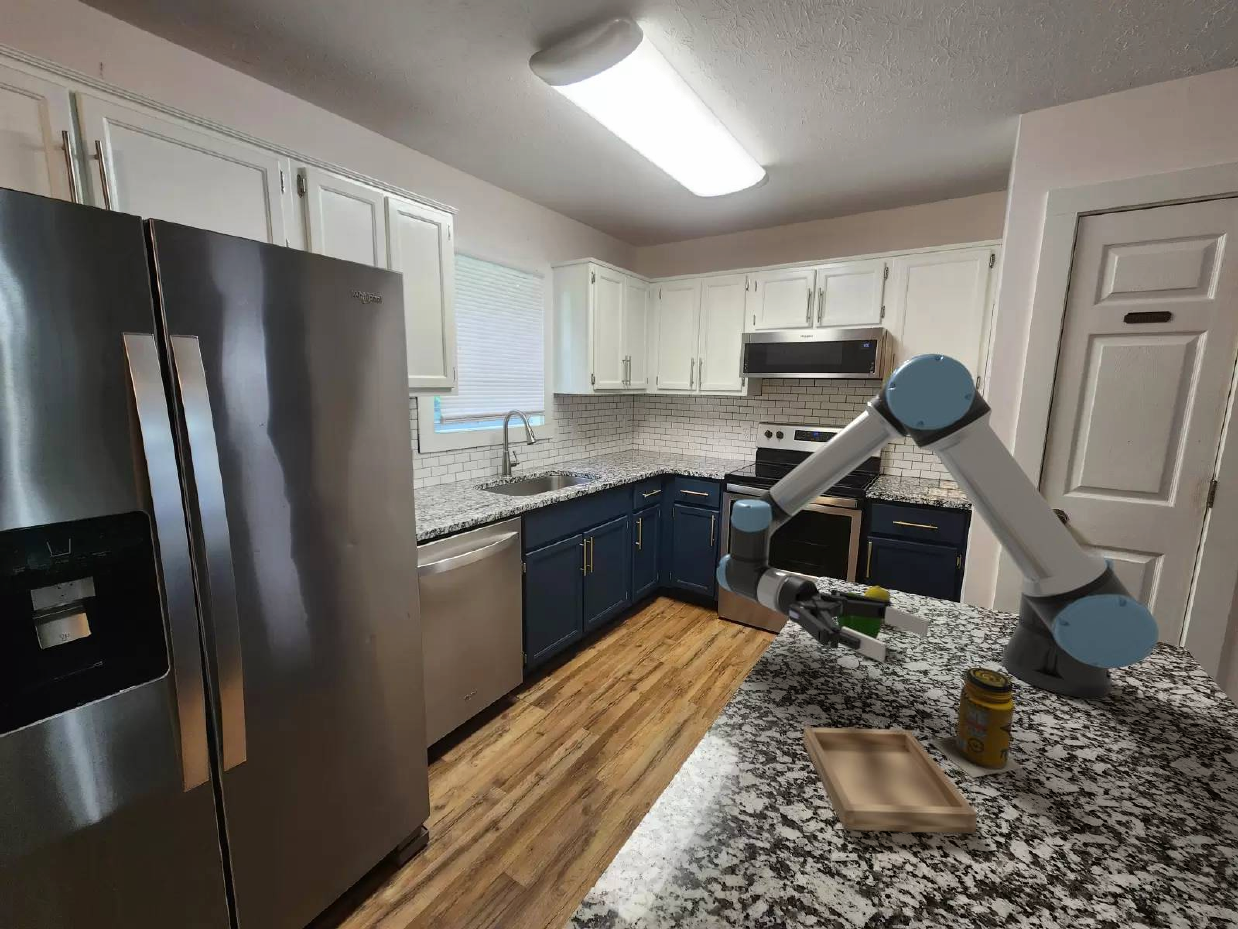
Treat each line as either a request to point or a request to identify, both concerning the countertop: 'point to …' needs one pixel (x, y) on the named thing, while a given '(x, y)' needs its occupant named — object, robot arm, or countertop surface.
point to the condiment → (982, 725)
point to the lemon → (877, 593)
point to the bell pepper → (861, 624)
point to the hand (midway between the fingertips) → (906, 640)
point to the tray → (886, 782)
